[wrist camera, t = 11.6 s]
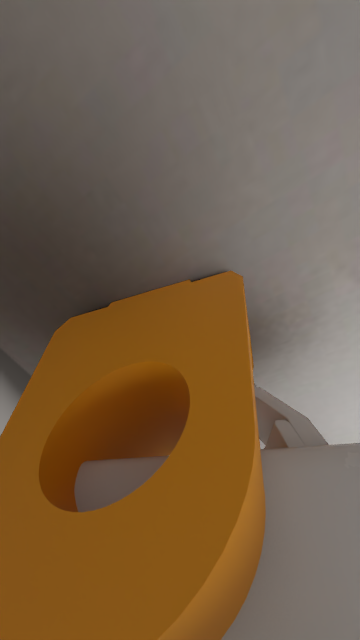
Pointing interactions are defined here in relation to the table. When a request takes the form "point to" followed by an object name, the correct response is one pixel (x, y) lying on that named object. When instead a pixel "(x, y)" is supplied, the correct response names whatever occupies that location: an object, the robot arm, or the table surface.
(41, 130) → the table surface
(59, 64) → the table surface
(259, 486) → the bracket
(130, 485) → the robot arm
